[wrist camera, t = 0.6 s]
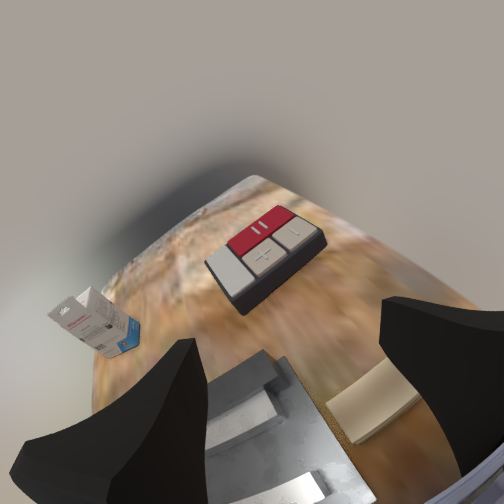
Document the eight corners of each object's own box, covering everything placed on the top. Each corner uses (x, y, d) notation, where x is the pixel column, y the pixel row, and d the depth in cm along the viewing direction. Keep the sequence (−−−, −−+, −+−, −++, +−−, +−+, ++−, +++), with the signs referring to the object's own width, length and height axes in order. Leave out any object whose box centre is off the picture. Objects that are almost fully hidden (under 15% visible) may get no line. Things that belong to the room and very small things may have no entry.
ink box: (140, 322, 44) (78, 271, 35) (139, 345, 40) (70, 295, 31) (111, 338, 45) (52, 294, 36) (109, 359, 42) (44, 316, 32)
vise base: (377, 499, 13) (374, 507, 11) (185, 557, 13) (162, 562, 11) (285, 356, 28) (271, 343, 26) (145, 434, 28) (123, 427, 26)
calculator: (322, 225, 34) (227, 299, 32) (330, 248, 37) (243, 317, 35) (277, 200, 43) (200, 257, 41) (287, 220, 45) (214, 275, 44)
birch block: (422, 396, 18) (430, 381, 14) (360, 444, 18) (351, 443, 14) (398, 368, 21) (399, 346, 17) (339, 413, 21) (325, 403, 17)
